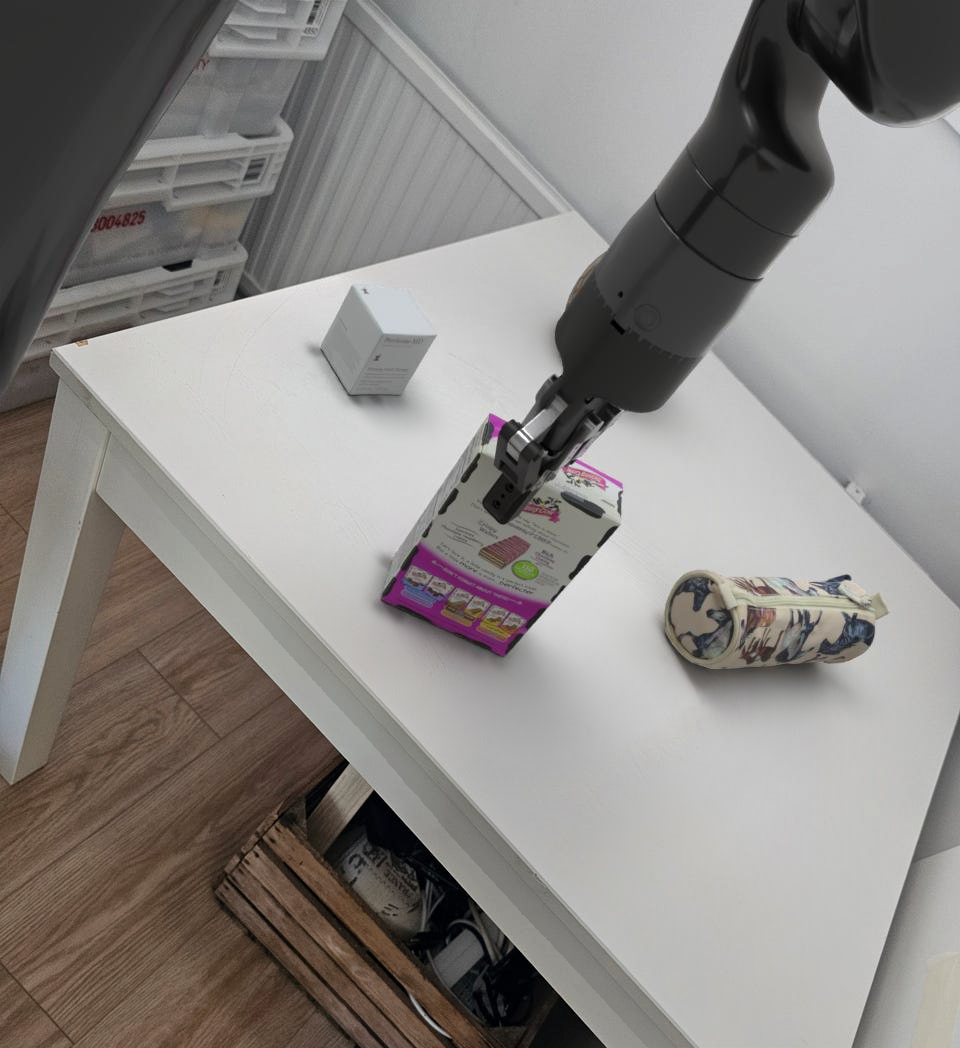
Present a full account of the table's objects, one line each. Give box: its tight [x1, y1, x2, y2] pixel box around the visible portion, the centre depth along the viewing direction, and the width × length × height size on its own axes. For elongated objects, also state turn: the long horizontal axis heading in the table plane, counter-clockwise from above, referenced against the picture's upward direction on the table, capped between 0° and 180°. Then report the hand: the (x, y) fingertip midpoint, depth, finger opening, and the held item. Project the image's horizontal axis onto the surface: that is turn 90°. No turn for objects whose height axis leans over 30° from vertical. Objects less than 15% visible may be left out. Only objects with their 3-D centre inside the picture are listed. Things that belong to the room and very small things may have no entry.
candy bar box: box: [380, 412, 624, 658], centre depth 76 cm, size 11×5×16 cm, turn 82°
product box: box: [320, 283, 438, 396], centre depth 91 cm, size 6×6×7 cm
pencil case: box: [663, 569, 891, 670], centre depth 95 cm, size 22×8×10 cm, turn 112°
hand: (497, 512), depth 67 cm, fingers closed
